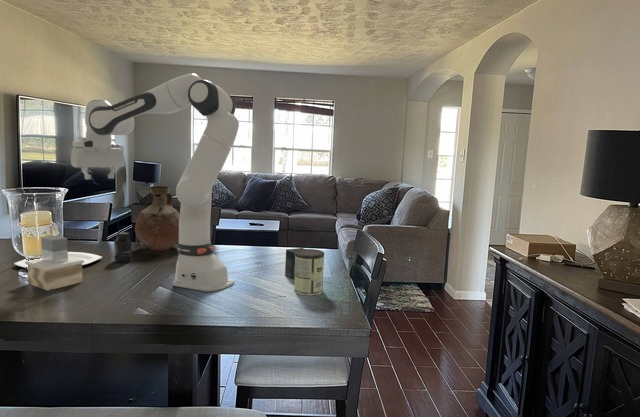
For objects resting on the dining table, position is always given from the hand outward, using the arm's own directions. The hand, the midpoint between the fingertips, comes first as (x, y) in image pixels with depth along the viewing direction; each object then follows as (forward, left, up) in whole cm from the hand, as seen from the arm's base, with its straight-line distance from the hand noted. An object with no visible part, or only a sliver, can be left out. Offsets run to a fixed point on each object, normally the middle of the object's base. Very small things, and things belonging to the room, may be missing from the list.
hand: (99, 178), depth 170 cm
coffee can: (-82, -26, -35) cm, 93 cm away
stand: (-8, +22, -35) cm, 42 cm away
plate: (+16, +8, -36) cm, 40 cm away
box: (-68, -39, -35) cm, 86 cm away
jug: (+8, -34, -35) cm, 50 cm away
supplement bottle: (+1, -10, -35) cm, 37 cm away
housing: (-8, +22, -27) cm, 36 cm away
